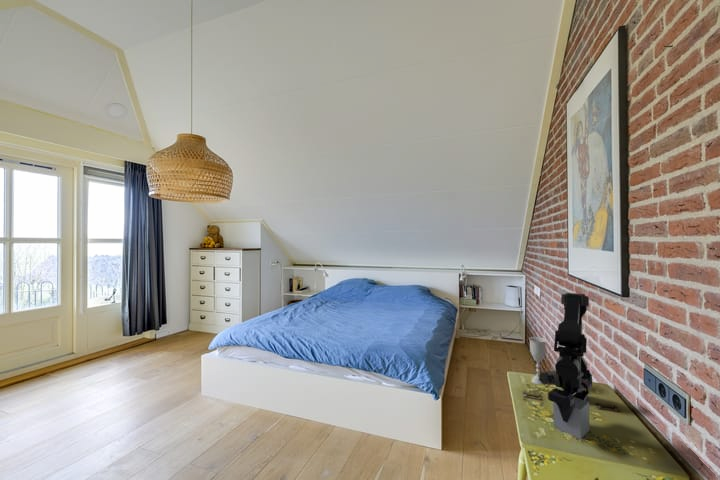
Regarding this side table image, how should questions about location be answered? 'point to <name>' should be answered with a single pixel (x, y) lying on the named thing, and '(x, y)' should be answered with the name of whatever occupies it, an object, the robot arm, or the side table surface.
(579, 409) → the grey block
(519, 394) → the side table surface
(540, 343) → the chalice
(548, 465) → the side table surface
